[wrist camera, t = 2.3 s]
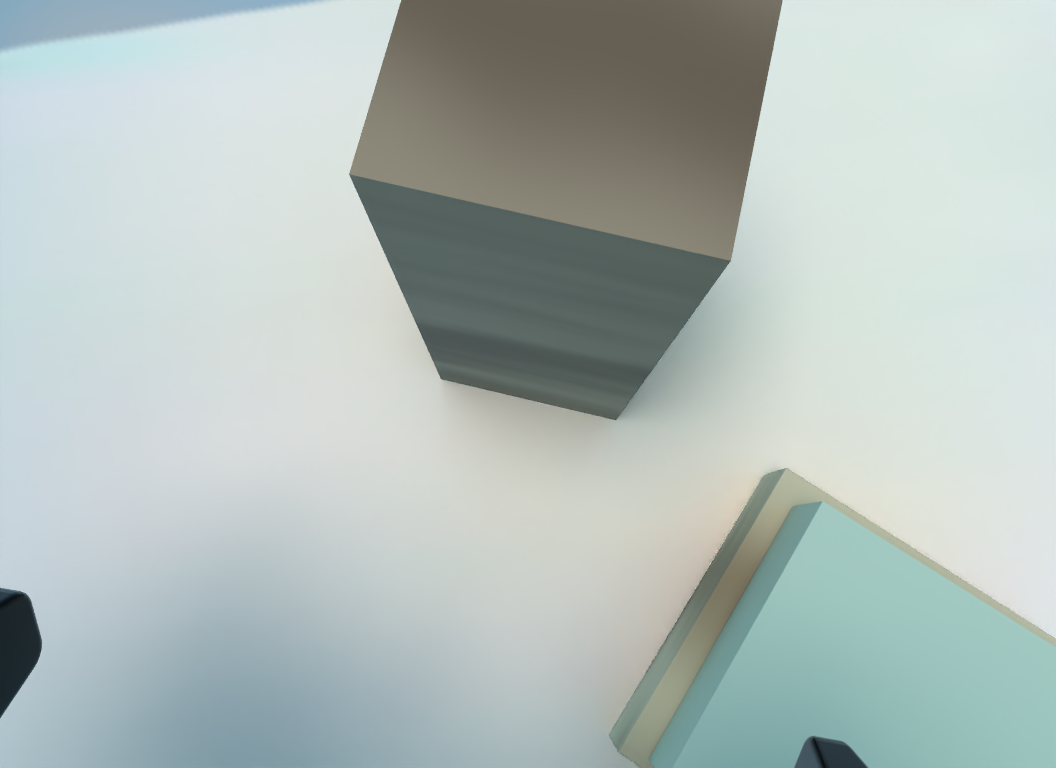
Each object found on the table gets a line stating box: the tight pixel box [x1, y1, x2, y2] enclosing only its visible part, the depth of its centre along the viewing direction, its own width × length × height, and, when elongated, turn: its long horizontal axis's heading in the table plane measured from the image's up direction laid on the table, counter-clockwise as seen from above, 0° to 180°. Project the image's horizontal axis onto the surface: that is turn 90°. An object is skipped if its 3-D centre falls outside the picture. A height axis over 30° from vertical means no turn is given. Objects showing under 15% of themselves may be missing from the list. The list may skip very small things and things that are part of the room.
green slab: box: [649, 501, 1056, 768], centre depth 19 cm, size 7×7×2 cm
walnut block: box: [349, 0, 782, 420], centre depth 18 cm, size 5×5×13 cm
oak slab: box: [609, 468, 1056, 768], centre depth 21 cm, size 8×8×2 cm
